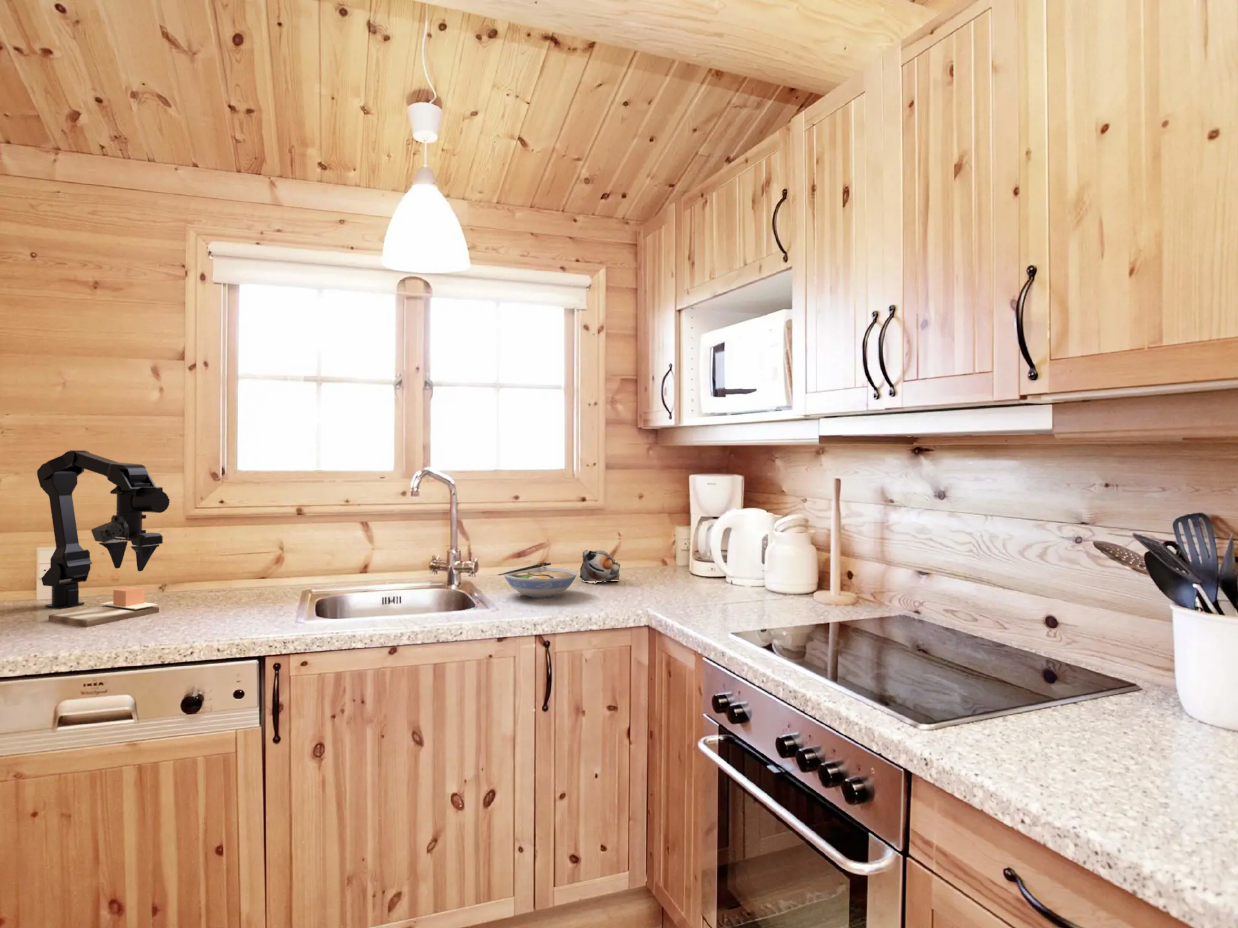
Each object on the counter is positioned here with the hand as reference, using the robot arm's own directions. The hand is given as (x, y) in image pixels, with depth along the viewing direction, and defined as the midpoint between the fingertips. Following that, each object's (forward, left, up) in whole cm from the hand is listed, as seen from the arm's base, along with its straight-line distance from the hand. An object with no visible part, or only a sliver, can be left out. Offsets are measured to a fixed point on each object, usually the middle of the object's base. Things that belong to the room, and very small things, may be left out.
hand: (128, 569), depth 189 cm
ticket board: (0, -6, -11) cm, 13 cm away
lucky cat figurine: (+95, +97, -12) cm, 137 cm away
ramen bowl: (+88, +67, -12) cm, 111 cm away
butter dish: (0, 0, -9) cm, 9 cm away
